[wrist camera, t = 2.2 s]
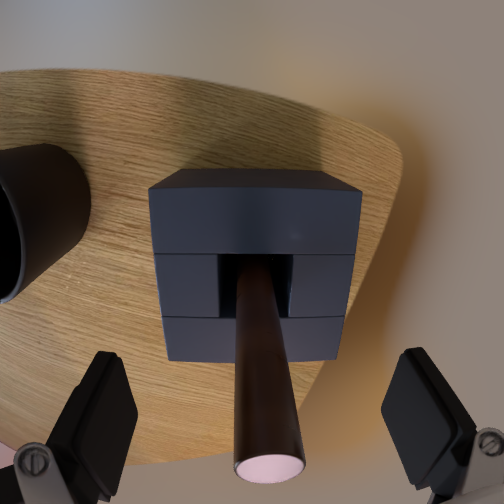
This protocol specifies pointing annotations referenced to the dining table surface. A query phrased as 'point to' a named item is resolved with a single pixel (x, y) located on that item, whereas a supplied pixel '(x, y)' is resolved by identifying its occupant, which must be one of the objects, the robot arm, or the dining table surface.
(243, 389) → the stick
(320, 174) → the holder
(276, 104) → the dining table surface
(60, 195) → the mug
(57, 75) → the dining table surface
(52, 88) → the dining table surface
